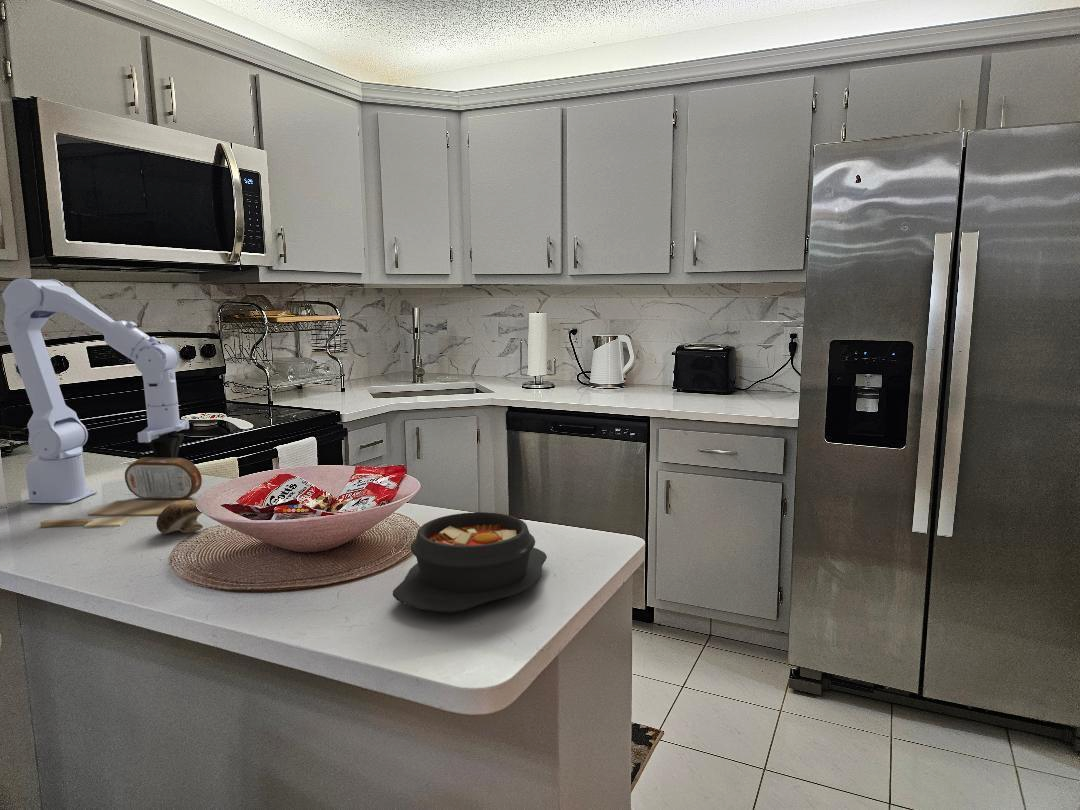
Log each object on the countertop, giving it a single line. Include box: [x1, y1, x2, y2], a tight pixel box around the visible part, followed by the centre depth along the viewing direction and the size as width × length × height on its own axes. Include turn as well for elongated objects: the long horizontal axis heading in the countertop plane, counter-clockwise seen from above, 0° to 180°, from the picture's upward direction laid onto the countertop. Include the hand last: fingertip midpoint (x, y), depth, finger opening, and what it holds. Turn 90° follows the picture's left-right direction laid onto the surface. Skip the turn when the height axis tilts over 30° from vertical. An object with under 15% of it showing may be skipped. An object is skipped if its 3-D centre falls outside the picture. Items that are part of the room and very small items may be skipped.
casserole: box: [392, 511, 548, 613], centre depth 97 cm, size 25×19×8 cm
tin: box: [124, 456, 203, 501], centre depth 142 cm, size 15×3×8 cm, turn 84°
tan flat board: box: [87, 500, 177, 517], centre depth 137 cm, size 17×8×1 cm, turn 87°
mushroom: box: [155, 499, 204, 535], centre depth 122 cm, size 8×8×6 cm
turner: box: [40, 516, 132, 529], centre depth 128 cm, size 14×4×1 cm, turn 97°
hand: (168, 470), depth 144 cm, fingers closed
